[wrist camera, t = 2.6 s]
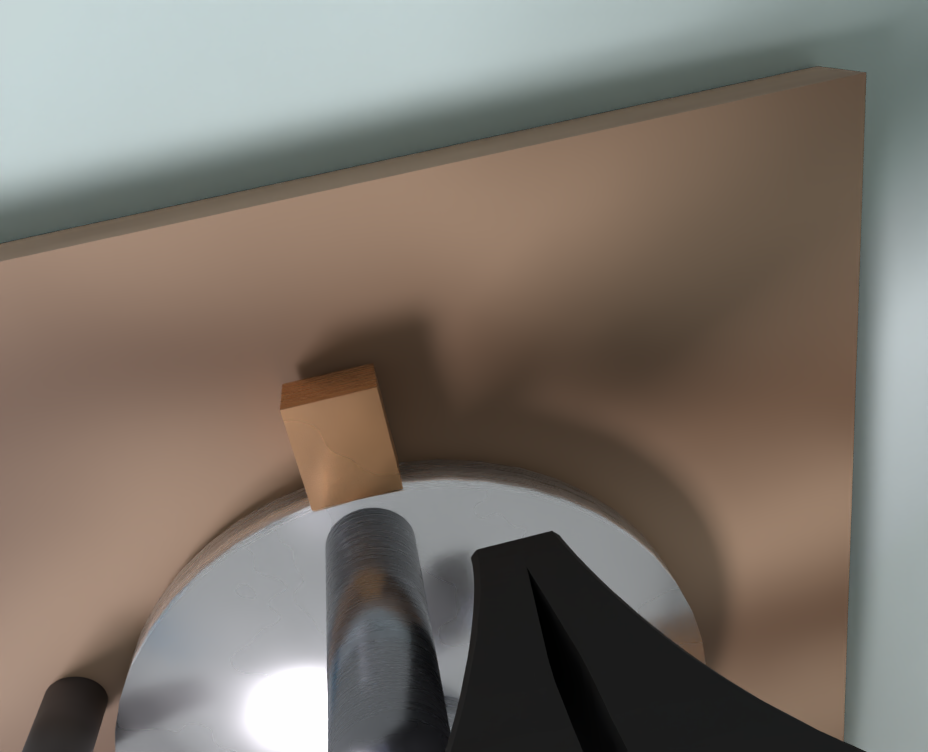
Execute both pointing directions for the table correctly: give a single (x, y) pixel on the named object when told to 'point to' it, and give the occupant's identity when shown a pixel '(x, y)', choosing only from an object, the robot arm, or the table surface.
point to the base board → (457, 372)
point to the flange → (357, 593)
